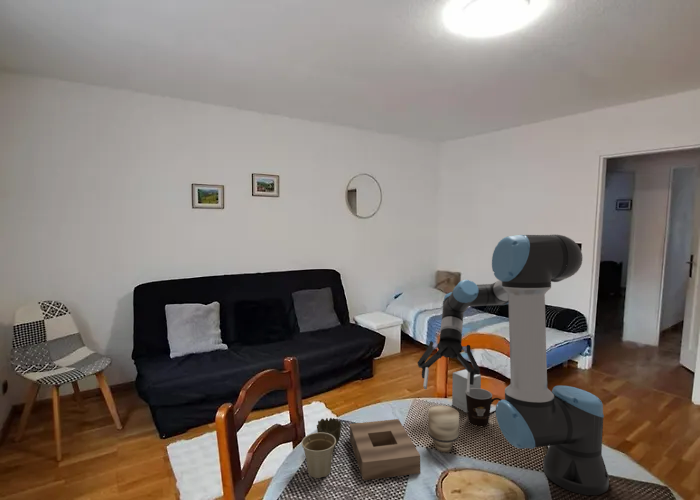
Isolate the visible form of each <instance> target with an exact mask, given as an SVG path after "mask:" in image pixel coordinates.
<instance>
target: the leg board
mask: <svg viewBox="0 0 700 500" xmlns="http://www.w3.org/2000/svg"><path fill="white" fill-rule="evenodd" d="M349 441H350V445H351V447H352V450H353V451H352V452H354V456H355V460H356V463H357V466H358V469H359V472H360V476H361V479H362V481H368V480H377V479H385V478H393V477H400V476H401V477H402V476H408V475H418V474H421V454H420V453H419V452H420V451H418V449H417V447H416V446H415V444H414V443H413V441H412V439H411V437H410V435H409V434H408V432H407V431H406V429H405V427H404V426H403V424H402V422H401V421H400V419H399V418H396V419H395V418H394V419H384V420H377V421H374V420H373V421H366V422H356V423H349Z"/></svg>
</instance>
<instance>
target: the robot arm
mask: <svg viewBox="0 0 700 500" xmlns="http://www.w3.org/2000/svg"><path fill="white" fill-rule="evenodd" d="M582 263H583V252H582V250H581V247H580V246H579V245H578V243H577V242H575V240H574V239H572V238H570V237H567V236H565V235H561V234H518V235H510V236H505V237H503V238H502V239H500V241H499V242H498V243H497V245H495V247H494V249H493V253H492V257H491V268H492V272H493V276H494V278H496V279H497V281H494V282H493V283H486V284H484V283H483V284H476V283H475V282H474V281H471V280H469V279H463V280H460V281H459V282H458V283H457V284H456V285H455V286H454V288H453V290H452V291H450V292H449V293H446V294H444V298H443V301H442V314H441V322H440V323H441V324H440V332H439V339H438V340H439V341H438V343H435V342H434V341H432V340H430V341H429V345H428V347H427V348H426V350H425V351H424V352H423V354H422V355H421V357H420V359H419V360H418V361H417V366H418V368H421V377H422V379H423V385H422V386H423V390H428V389H427V388H428V380H429V368H430V367H431V366H432V365H434V364H435V363H436V362H437V361H438V360H439V359H441V358H442V357H444V358H445V359H446V358H450V359H455V358H456V359H457V360H458V361H459V362H460V364H461V365H462V367H464V370H465V369H466V370H467V371H468V376H467V395H469V393H470V384H471V385H473V384H474V375H476V374H477V375H479V374H480V375H481V370H480V367H479V365H478V364H477V363H478V362H477V361H476V359H475V357H474V355H473V352H472V349H471V345H470V344H467V345H466V346H463V344H462V341H463V339H462V338H463V336H462V335H463V326H464V325H463V324H464V314H465V312H466V311H467V309H468V308H469V307H482V306H483V307H484V306H505V305H508V324H509V325H508V326H509V327H508V329H509V330H508V331H509V364H510V365H509V366H510V367H509V368H510V369H509V372H510V384H509V385H507V386H506V387H505V389H504V399H501V401H500V400H498V402H497V403H496V405H495V410H496V412H495V416H496V421H497V424H498V426H499V429H500V430H501V434H502V435H503V437H504V438H505V440H506V441H507V442H508V443H509V444H510V445H511V446H512V447H515V448H516V449H520V450H521V449H531V450H533V449H536V448H541V447H548V449H547V452H546V454H545V455H544V458H543V463H542V465H543V466H542V469H543V472H544V475H545V476H546V477H547V478H548V479H549V480H550V481H551V482H552V483H554V484H556V485H557V486H559V487H560V488H562V489H564V490H567V491H569V492H572V493H576V494H579V495H584V496H598V495H602V494H604V493H606V492H607V491H608V490H609V485H610V484H609V482H610V477H609V473H608V471H607V467H606V464H605V461H604V458H603V455H602V454H603V453H602V450H603V435H604V434H603V432H604V431H603V430H604V429H603V428H604V417H605V416H604V404H603V402H602V400H601V399H600V398H599V397H598V396H597V395H595V394H593V393H591V392H589V391H586V390H585V389H581V388H578V387H574V386H570V385H555V386H553V388H552V390H550V389H549V388H548V373H547V372H548V371H547V369H548V367H547V366H548V365H547V335H546V334H547V333H546V332H547V331H546V300H545V299H546V293H547V292H548V291H549V290H551V288H552V283H558V282H561V281H564V280H566V279H569V278H571V277H572V276H574V275H575V274H577V273H578V271H579V270H580V268H581V266H582ZM436 348H437V349H438V350H437V351H436V352H435V353H434V354H433V355H432V356H431V354H432V352H433V351H434V350H435V349H436ZM463 351H464V353H465V354H467V357H468V359H469V361H470V363H471V365H470V364H469V362H468V361H467V360H466V359H465V357H464V356H463V355H462V352H463ZM430 356H431V357H430Z"/></svg>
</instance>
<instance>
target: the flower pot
mask: <svg viewBox="0 0 700 500" xmlns="http://www.w3.org/2000/svg"><path fill="white" fill-rule="evenodd" d="M335 444H336V439H335V437H334V436H333V435H331V434H329V433H322V432H314V433H309V434H308V435H306V436H304V437H303V438H302V440H301V447H302V448H303V451H304V454H305V460H306V466H307V468H306V469H307V472H308V475H309V476H310V477H312V478H313V479H321V478H323V477H324V478H325V477H328V476H329V475H330V473H331V469H332V462H333V461H332V460H333V454H334V450H335V449H334V446H335V447H336V445H337V444H336V445H335ZM333 449H334V450H333Z"/></svg>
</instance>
